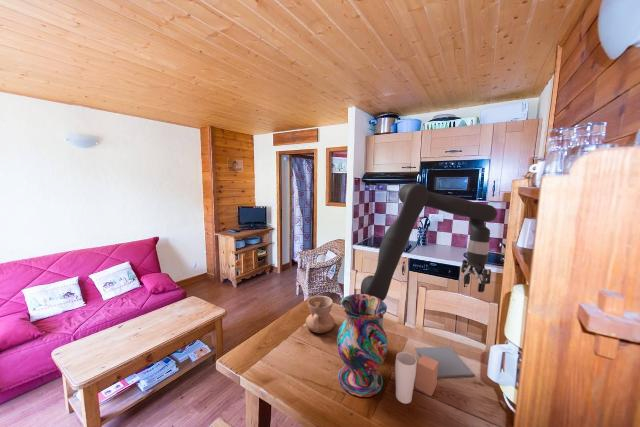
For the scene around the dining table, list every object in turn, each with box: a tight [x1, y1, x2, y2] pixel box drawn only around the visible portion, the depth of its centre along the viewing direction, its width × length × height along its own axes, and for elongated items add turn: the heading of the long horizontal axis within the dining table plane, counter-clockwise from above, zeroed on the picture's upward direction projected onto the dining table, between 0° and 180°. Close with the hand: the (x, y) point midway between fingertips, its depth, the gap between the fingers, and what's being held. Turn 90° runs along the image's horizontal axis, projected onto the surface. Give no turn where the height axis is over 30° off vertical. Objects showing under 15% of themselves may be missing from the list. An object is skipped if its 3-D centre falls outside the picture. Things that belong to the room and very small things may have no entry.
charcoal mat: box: [414, 346, 475, 379], centre depth 104 cm, size 16×16×1 cm
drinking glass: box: [394, 351, 418, 405], centre depth 86 cm, size 7×7×15 cm
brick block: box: [415, 355, 438, 397], centre depth 91 cm, size 6×6×10 cm
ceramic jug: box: [305, 295, 335, 334], centre depth 126 cm, size 18×14×14 cm
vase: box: [336, 293, 389, 398], centre depth 93 cm, size 18×18×30 cm
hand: (473, 287), depth 109 cm, fingers open, 8 cm apart
